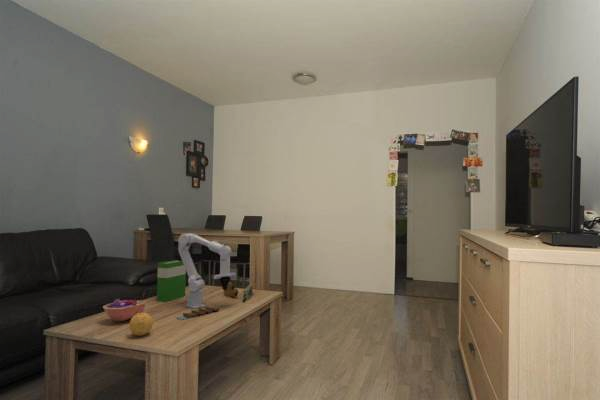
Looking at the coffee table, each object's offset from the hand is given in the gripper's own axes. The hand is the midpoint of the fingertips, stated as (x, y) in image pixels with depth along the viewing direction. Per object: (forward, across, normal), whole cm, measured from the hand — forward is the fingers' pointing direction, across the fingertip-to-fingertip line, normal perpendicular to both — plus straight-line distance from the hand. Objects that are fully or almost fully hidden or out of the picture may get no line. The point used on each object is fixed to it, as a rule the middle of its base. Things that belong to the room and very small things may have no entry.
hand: (224, 289), depth 207 cm
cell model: (+11, -50, +18) cm, 54 cm away
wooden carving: (+11, +19, +20) cm, 30 cm away
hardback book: (+11, -10, +44) cm, 46 cm away
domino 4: (+10, -11, -1) cm, 15 cm away
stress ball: (+11, -54, -11) cm, 56 cm away
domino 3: (+10, -16, -2) cm, 19 cm away
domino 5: (+10, -7, -1) cm, 12 cm away
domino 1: (+11, -24, -1) cm, 26 cm away
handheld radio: (+11, +25, +9) cm, 29 cm away
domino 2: (+10, -20, -1) cm, 23 cm away
